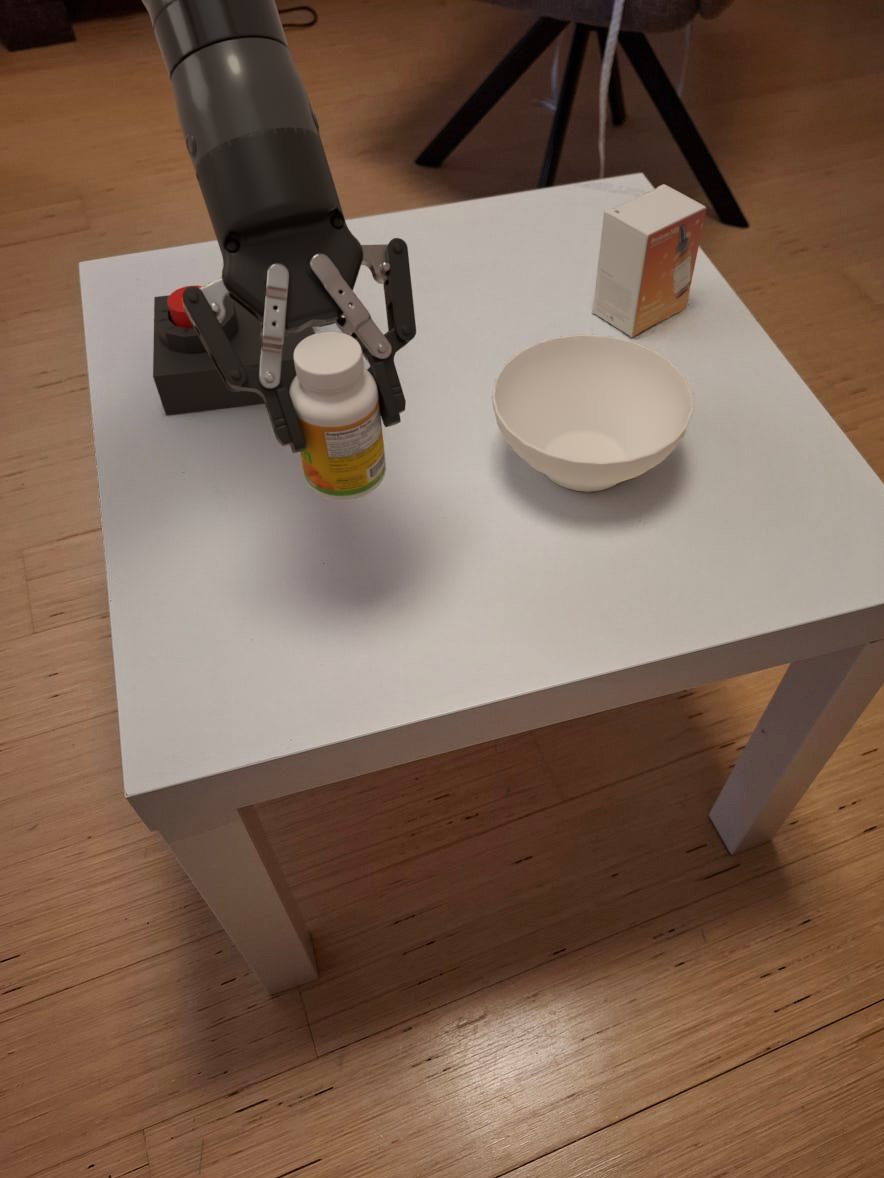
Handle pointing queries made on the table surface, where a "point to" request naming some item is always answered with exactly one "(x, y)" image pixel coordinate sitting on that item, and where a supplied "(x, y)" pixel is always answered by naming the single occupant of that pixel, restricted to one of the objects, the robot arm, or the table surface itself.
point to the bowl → (591, 409)
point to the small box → (647, 259)
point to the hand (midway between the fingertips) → (346, 436)
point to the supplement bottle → (337, 417)
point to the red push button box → (209, 360)
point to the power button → (179, 308)
